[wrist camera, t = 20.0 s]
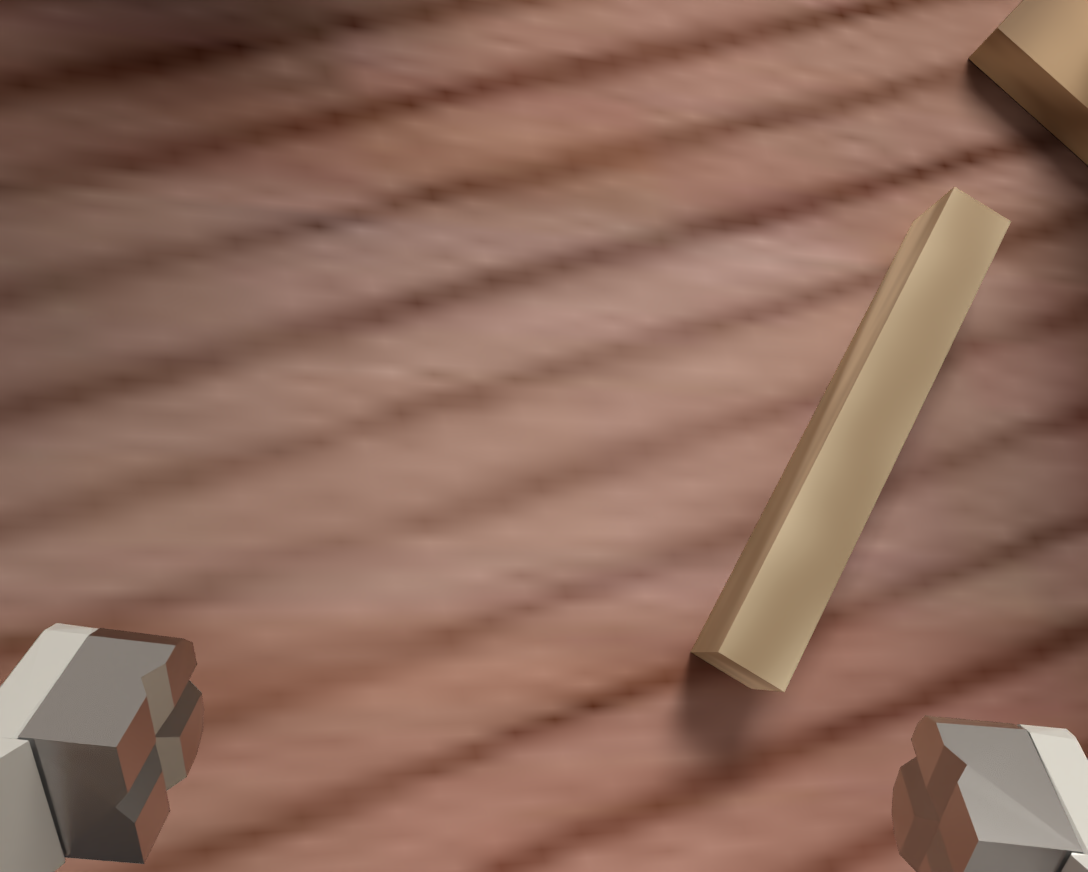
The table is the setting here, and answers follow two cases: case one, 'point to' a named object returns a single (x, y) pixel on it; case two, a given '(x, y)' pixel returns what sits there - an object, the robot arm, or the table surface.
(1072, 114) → the stand
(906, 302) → the batten
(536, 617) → the table surface
